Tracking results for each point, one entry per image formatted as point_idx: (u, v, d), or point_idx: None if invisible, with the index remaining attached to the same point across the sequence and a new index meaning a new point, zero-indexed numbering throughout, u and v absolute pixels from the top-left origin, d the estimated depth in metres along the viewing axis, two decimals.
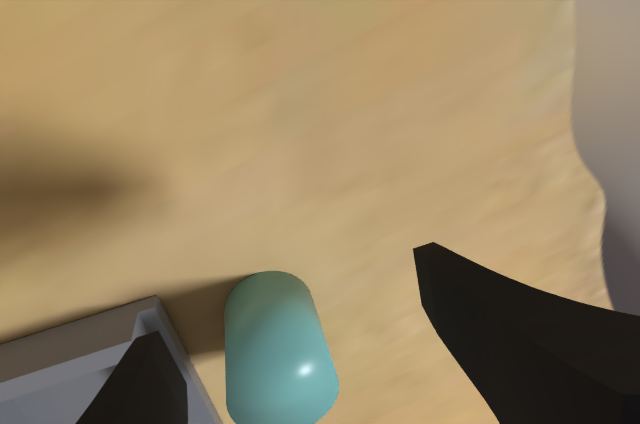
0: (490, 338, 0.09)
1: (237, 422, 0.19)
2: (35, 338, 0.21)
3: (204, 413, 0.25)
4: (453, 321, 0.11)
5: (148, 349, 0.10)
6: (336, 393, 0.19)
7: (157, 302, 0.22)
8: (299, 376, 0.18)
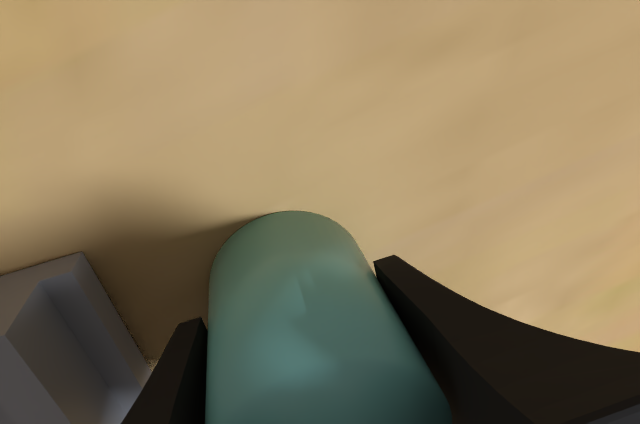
0: (438, 356, 0.09)
1: None
2: None
3: None
4: None
5: (195, 334, 0.11)
6: None
7: (82, 264, 0.12)
8: (370, 417, 0.08)
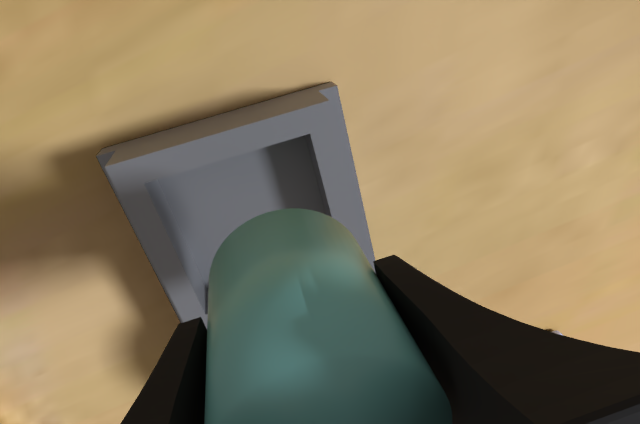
0: (438, 356, 0.09)
1: None
2: (198, 123, 0.18)
3: (365, 244, 0.22)
4: None
5: (195, 334, 0.11)
6: None
7: None
8: (370, 413, 0.08)
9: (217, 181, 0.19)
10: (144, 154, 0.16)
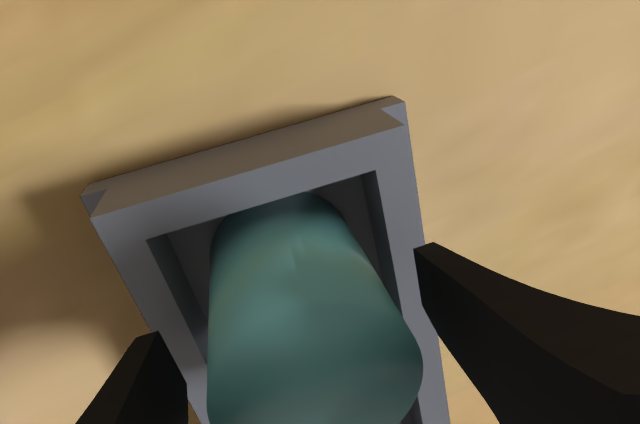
0: (490, 338, 0.09)
1: None
2: (217, 150, 0.14)
3: None
4: (453, 321, 0.11)
5: (148, 349, 0.10)
6: (416, 390, 0.10)
7: None
8: (350, 356, 0.09)
9: None
10: (146, 200, 0.11)
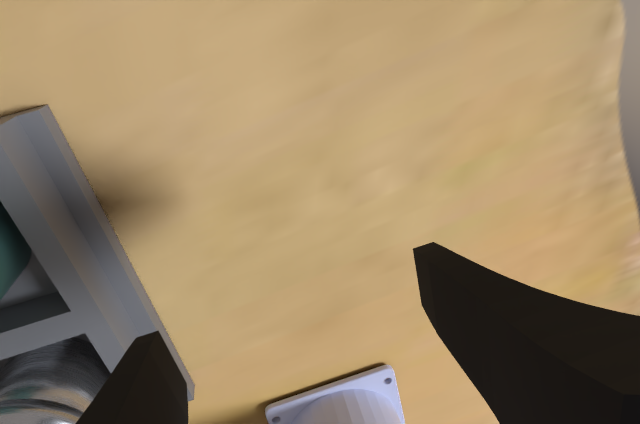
0: (490, 338, 0.09)
1: None
2: None
3: (121, 280, 0.20)
4: (454, 321, 0.11)
5: (148, 349, 0.10)
6: None
7: (47, 111, 0.17)
8: None
9: None
10: None
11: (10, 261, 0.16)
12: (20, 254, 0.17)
